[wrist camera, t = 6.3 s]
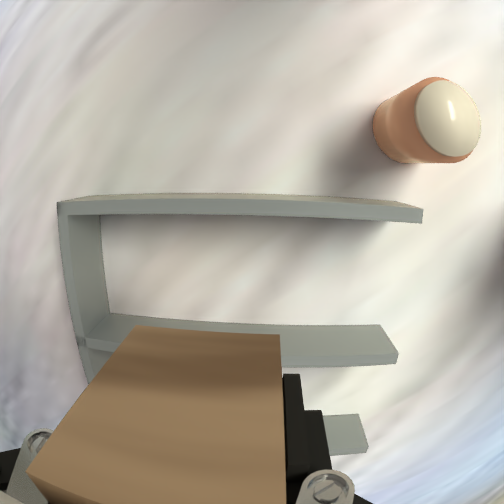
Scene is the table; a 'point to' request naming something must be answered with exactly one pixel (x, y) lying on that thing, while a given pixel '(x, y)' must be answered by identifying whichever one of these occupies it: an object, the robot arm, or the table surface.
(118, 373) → the walnut block
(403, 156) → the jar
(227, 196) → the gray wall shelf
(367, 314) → the table surface
